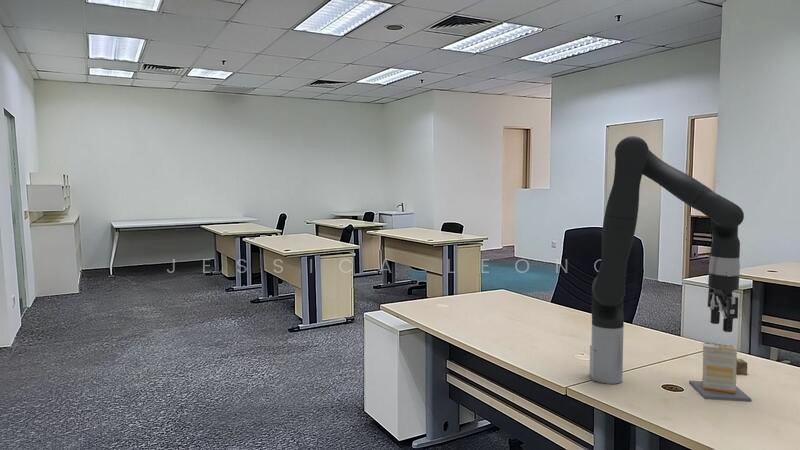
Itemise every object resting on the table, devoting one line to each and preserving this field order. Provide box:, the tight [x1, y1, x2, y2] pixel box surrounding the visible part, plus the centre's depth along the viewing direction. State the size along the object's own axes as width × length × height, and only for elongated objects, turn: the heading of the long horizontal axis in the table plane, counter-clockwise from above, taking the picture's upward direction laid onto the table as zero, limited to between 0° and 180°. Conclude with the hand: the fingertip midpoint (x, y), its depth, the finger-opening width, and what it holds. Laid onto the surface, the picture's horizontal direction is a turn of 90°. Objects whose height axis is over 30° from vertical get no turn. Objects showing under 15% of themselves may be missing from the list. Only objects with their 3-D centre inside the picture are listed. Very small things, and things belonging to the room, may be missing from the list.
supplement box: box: [702, 341, 738, 393], centre depth 153 cm, size 8×5×13 cm, turn 62°
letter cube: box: [736, 358, 748, 376], centre depth 168 cm, size 4×4×4 cm
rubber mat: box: [688, 380, 752, 402], centre depth 153 cm, size 12×12×1 cm
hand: (721, 327), depth 151 cm, fingers open, 8 cm apart
